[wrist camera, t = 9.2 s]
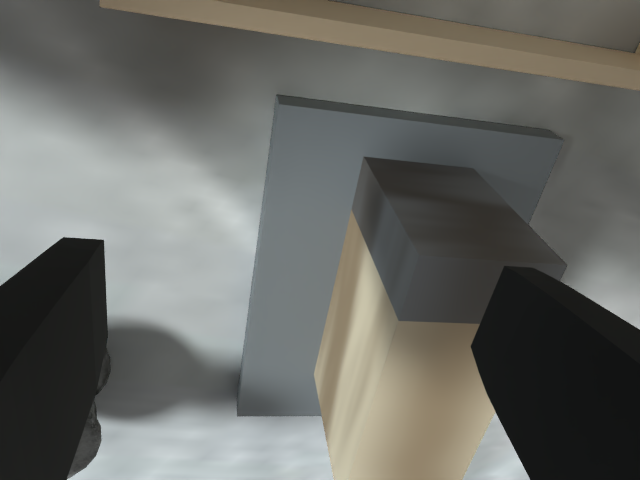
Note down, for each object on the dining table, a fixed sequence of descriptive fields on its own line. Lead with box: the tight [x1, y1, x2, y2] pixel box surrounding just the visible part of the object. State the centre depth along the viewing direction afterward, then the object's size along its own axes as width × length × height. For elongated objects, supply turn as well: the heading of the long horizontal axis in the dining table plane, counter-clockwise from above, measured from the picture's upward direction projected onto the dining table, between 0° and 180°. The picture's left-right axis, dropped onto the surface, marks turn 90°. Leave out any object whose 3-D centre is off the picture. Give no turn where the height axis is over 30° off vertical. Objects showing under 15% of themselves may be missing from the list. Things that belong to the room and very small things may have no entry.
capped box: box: [314, 156, 567, 480], centre depth 18 cm, size 4×10×6 cm, turn 170°
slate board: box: [237, 95, 564, 416], centre depth 21 cm, size 10×14×1 cm
